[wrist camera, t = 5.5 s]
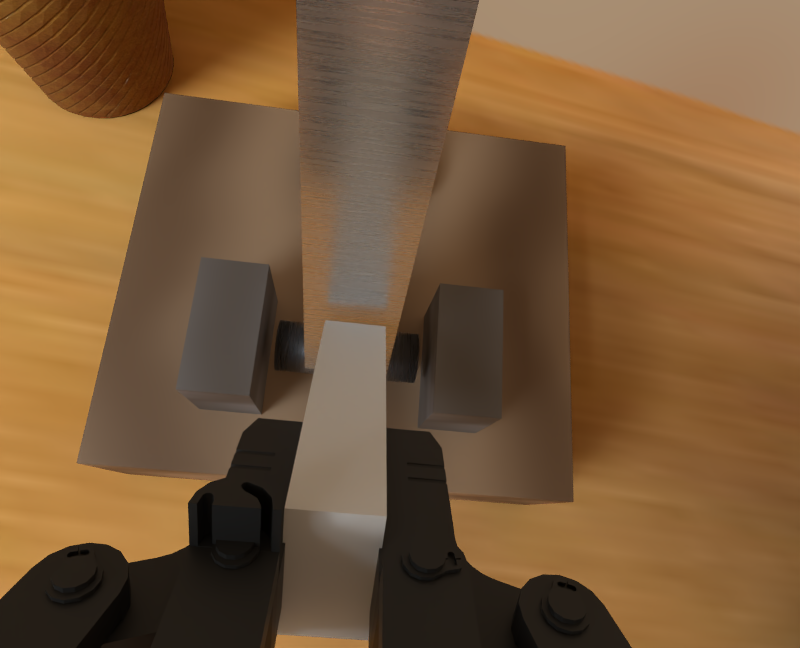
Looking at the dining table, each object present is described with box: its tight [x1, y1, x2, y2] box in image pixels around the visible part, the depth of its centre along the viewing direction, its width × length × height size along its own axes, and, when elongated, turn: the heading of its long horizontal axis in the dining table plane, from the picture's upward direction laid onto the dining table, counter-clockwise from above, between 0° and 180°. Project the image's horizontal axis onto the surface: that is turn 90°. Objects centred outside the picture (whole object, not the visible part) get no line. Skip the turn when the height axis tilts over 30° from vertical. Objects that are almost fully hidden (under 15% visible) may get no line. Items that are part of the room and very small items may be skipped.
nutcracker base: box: [77, 93, 573, 505], centre depth 22 cm, size 16×14×8 cm
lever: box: [274, 0, 479, 383], centre depth 12 cm, size 4×4×17 cm
